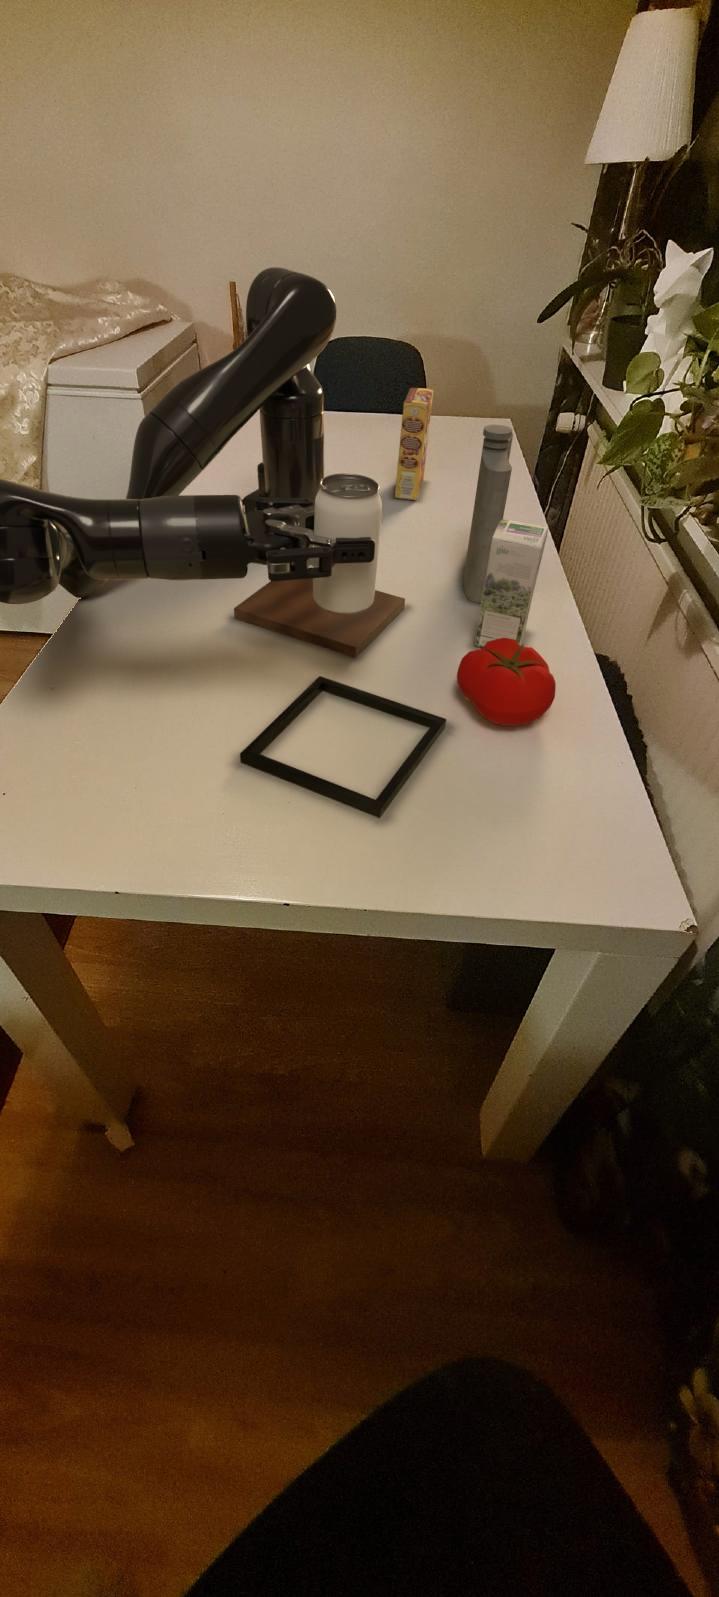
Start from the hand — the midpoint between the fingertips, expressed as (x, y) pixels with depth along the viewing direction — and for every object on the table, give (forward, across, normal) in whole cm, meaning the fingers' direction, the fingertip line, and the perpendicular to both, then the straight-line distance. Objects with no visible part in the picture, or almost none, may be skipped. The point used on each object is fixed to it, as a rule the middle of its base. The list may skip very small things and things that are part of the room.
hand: (365, 534), depth 70 cm
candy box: (+21, -57, -17) cm, 63 cm away
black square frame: (-3, +10, -18) cm, 21 cm away
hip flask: (+23, -25, -17) cm, 38 cm away
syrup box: (+20, -7, -18) cm, 28 cm away
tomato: (+16, +6, -18) cm, 25 cm away
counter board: (-1, -17, -18) cm, 25 cm away
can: (-2, 0, -7) cm, 8 cm away
